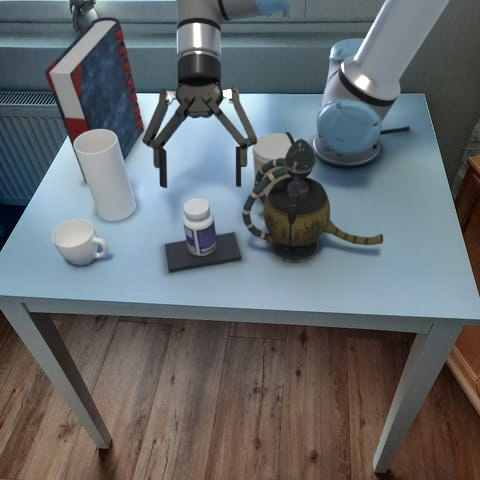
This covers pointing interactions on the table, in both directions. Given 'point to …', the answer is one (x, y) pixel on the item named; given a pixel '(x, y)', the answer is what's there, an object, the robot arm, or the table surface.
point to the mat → (185, 260)
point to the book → (97, 85)
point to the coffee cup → (270, 154)
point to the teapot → (295, 207)
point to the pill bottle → (199, 227)
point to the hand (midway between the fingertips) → (200, 186)
